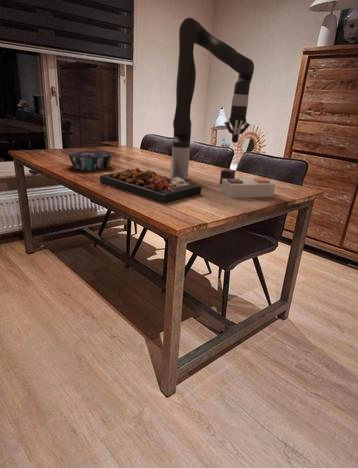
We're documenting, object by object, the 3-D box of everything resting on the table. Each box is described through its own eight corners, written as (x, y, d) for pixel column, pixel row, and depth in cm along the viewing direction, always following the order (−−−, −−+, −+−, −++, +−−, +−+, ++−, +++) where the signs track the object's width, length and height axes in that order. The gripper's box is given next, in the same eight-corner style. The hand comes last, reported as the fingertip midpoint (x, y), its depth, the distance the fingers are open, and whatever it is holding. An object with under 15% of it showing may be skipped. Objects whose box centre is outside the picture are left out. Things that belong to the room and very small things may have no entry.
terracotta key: (258, 189, 155) (259, 181, 154) (252, 186, 160) (253, 178, 159) (268, 189, 157) (269, 181, 155) (262, 186, 162) (264, 178, 160)
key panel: (230, 197, 150) (232, 185, 147) (221, 190, 160) (222, 178, 158) (273, 196, 155) (275, 184, 153) (261, 190, 166) (262, 178, 164)
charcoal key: (231, 189, 152) (232, 181, 150) (226, 186, 157) (227, 178, 155) (242, 189, 153) (243, 181, 151) (237, 186, 158) (238, 178, 156)
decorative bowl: (122, 170, 201) (122, 154, 198) (88, 173, 179) (88, 155, 176) (92, 164, 214) (92, 149, 210) (57, 167, 191) (57, 149, 188)
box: (229, 185, 171) (231, 172, 168) (219, 183, 174) (220, 170, 171) (234, 183, 176) (235, 170, 173) (224, 181, 179) (225, 168, 176)
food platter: (200, 195, 153) (202, 173, 149) (164, 205, 136) (165, 181, 132) (137, 177, 180) (137, 158, 176) (100, 184, 163) (99, 163, 159)
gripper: (229, 104, 149) (224, 143, 156) (255, 106, 152) (250, 144, 159) (223, 103, 156) (219, 141, 163) (249, 105, 159) (243, 142, 166)
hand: (234, 142), depth 161 cm, fingers closed
